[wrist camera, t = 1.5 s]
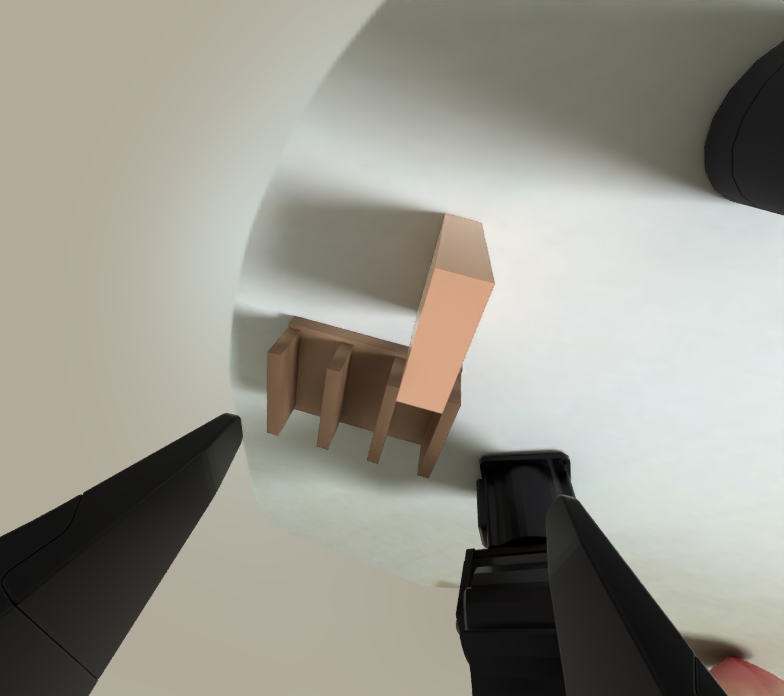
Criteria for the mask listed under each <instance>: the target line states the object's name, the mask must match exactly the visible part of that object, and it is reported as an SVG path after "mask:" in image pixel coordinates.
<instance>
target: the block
mask: <svg viewBox="0 0 784 696" xmlns="http://www.w3.org/2000/svg"><path fill="white" fill-rule="evenodd" d="M494 285H495V282H494V277H493V272H492V268H491V263H490V258H489V254H488V249H487V244H486V240H485V235H484V230H483V225H482V223H480V222H476V221H472V220H468V219H465V218H461V217H457V216H453V215H449V214H445V216H444V220H443V223H442V227H441V230H440V234H439V237H438V241H437V244H436V248H435V251H434V255H433V258H432V262H431V265H430V269H429V272H428V276H427V279H426V283H425V287H424V290H423V294H422V297H421V301H420V304H419V308H418V311H417V315H416V320H415V324H414V328H413V332H412V336H411V341H410V345H409V349H408V353H407V357H406V362H405V366H404V370H403V374H402V378H401V383H400V387H399V391H398V395H397V399H396V401H398V402H402V403H405V404H409V405H412V406H416V407H420V408H423V409H427V410H431V411H434V412H438V413H441V414H442V413H443V410H444V408H445V405H446V403H447V400H448V398H449V395H450V393H451V391H452V388H453V386H454V383H455V381H456V378H457V376H458V373H459V371H460V368H461V366H462V364H463V361H464V359H465V356H466V354H467V351H468V349H469V346H470V344H471V341H472V339H473V336H474V334H475V332H476V329H477V327H478V324H479V322H480V319H481V317H482V314H483V312H484V309H485V307H486V305H487V302H488V300H489V297H490V295H491V292H492V290H493V287H494Z"/></svg>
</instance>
